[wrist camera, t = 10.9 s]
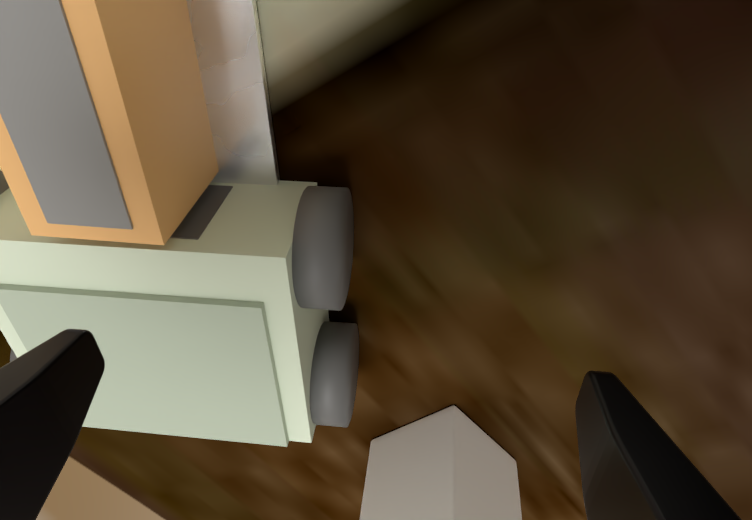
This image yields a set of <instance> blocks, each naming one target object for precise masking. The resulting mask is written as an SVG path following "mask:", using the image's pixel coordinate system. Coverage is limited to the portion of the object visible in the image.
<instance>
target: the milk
mask: <svg viewBox="0 0 752 520" xmlns="http://www.w3.org/2000/svg"><path fill="white" fill-rule="evenodd" d="M360 520H522V515H521V505H520V494H519V484H518V474H517V464H516V461H515V460H514V459H513V458H512V457H511V456H510V455H509V454H508V453H507V452H506V451H505V450H503V449H502V448H501V447H500V446H499V445H498V444H497V443H496V442H495V441H494V440H492V439H491V438H490V437H489V436H488V435H487V434H486V433H485V432H484V431H482V430H481V429H480V428H479V427H478V426H477V425H476V424H475V423H474V422H473V421H471V420H470V419H469V418H468V417H467V416H466V415H465V414H464V413H463V412H461V411H460V410H459V409H458V408H457V407H456V406H454V405H453V406H450V407H448V408H446V409H443V410H441V411H439V412H436V413H434V414H432V415H429V416H427V417H425V418H422V419H420V420H418V421H415V422H413V423H411V424H408V425H406V426H403V427H401V428H399V429H396V430H394V431H392V432H389V433H387V434H385V435H382V436H380V437H378V438H375V439H373V440H372V441H371V445H370V452H369V459H368V466H367V473H366V479H365V486H364V493H363V500H362V507H361V514H360Z"/></svg>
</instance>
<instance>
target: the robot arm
mask: <svg viewBox="0 0 752 520" xmlns="http://www.w3.org/2000/svg"><path fill="white" fill-rule="evenodd" d="M104 368H105V361H104V357H103V355H102V353H101V351H100V349H99V346H98V344H97V342H96V340H95V338H94V336H93V334H92V333H91V332H90V331H88V330H82V329H66V330H64V331H62V332H60V333H58V334H57V335H55V336H53V337H52V338H50V339H48V340H47V341H45V342H43V343H42V344H40V345H38V346H36V347H35V348H33V349H31V350H30V351H28V352H26V353H25V354H23V355H21V356H20V357H18V358H16V359H15V360H13V361H11V362H10V363H8V364H6V365H5V366H3V367H1V368H0V520H36V518H37V516H38V514H39V512H40V510H41V508H42V507H43V505H44V503H45V501H46V499H47V497H48V495H49V493H50V491H51V489H52V487H53V485H54V484H55V482H56V480H57V478H58V476H59V474H60V472H61V470H62V468H63V466H64V465H65V462H66V461H67V459H68V457H69V455H70V453H71V451H72V449H73V447H74V444H75V442H76V440H77V438H78V435H79V433H80V430H81V428H82V425H83V423H84V420H85V418H86V415H87V413H88V410H89V408H90V405H91V403H92V400H93V398H94V395H95V393H96V390H97V388H98V385H99V383H100V380H101V378H102V375H103V372H104ZM576 424H577V434H578V445H579V456H580V467H581V478H582V488H583V497H584V503H585V508H586V514H587V519H588V520H741V519H740V517H739V516H738V515H737V514H736V513H735V512H734V511H733V509H732V508H731V507H730V506H729V505H728V504H727V503H726V501H725V500H724V499H723V498H722V497H721V496H720V495H719V493H718V492H717V491H716V490H715V489H714V488H713V487H712V485H711V484H710V483H709V482H708V481H707V480H706V479H705V477H704V476H703V475H702V474H701V473H700V472H699V471H698V469H697V468H696V467H695V466H694V465H693V464H692V463H691V461H690V460H689V459H688V458H687V457H686V456H685V454H684V453H683V452H682V451H681V450H680V449H679V448H678V446H677V445H676V444H675V443H674V442H673V441H672V440H671V438H670V437H669V436H668V435H667V434H666V433H665V432H664V430H663V429H662V428H661V427H660V426H659V425H658V424H657V422H656V421H655V420H654V419H653V418H652V417H651V416H650V414H649V413H648V412H647V411H646V410H645V409H644V408H643V406H642V405H641V404H640V403H639V402H638V401H637V400H636V398H635V397H634V396H633V395H632V394H631V393H630V392H629V390H628V389H627V388H626V387H625V386H624V385H623V383H622V382H621V381H620V380H619V379H618V378H617V377H616V376H615V375H614V374H613V373H610V372H601V371H589V372H587V373H586V375H585V377H584V380H583V383H582V386H581V389H580V392H579V395H578V398H577V401H576Z"/></svg>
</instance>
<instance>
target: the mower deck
mask: <svg viewBox="0 0 752 520" xmlns="http://www.w3.org/2000/svg"><path fill="white" fill-rule="evenodd" d="M353 244H354V214H353V203H352V197H351V193H350V190H349V188H347V187H327V186H317V182H301V181H280V182H279V183H278V185H258V184H237V183H217V182H211V183H210V184H209V185H208V187H207V188H206V189H205V191H204V192H203V193H202V195H201V196H200V197H199V199H198V200H197V202H196V203H195V204H194V206H193V207H192V208H191V210H190V211H189V212H188V214H187V215H186V216H185V218H184V219H183V220H182V222H181V223H180V225H179V226H178V227H177V229H176V230H175V231H174V233H173V234H172V235H171V237H170V238H169V239H168V241H167V242H166V244H165V245H152V244H139V243H126V242H113V241H99V240H86V239H73V238H60V237H47V236H34V235H31V233H30V231H29V229H28V227H27V224H26V222H25V220H24V218H23V216H22V214H21V211H20V209H19V207H18V205H17V203H16V200H15V198H14V196H13V194H12V192H11V190H10V187H9V185H8V183H7V181H6V179H5V177H4V174H3V172H2V171H0V330H1V331H2V333H3V335H4V336H5V338H6V340H7V341H8V343H9V345H10V346H11V355H10V362H11V361H13V360H15V359H16V358H18V357H20V356H21V355H23V354H25V353H26V352H28V351H30V350H31V349H33V348H35V347H36V346H38V345H40V344H42V343H43V342H45V341H47V340H48V339H50V338H52V337H53V336H55V335H57V334H58V333H60V332H62V331H64V330H66V329H82V330H88V331H90V332H91V333H92V334H93V336H94V338H95V340H96V342H97V344H98V346H99V349H100V351H101V353H102V355H103V357H104V361H105V368H104V372H103V375H102V378H101V380H100V383H99V385H98V388H97V390H96V393H95V395H94V398H93V400H92V403H91V405H90V408H89V410H88V413H87V415H86V418H85V420H84V423H83V425H82V426H83V427H93V428H104V429H114V430H124V431H134V432H144V433H154V434H164V435H174V436H184V437H194V438H205V439H215V440H225V441H235V442H245V443H255V444H265V445H275V446H285V447H287V446H288V442H289V441H297V442H308V443H312V439H313V435H314V431H315V426H316V425H326V426H337V427H348V425H349V423H350V420H351V416H352V412H353V407H354V401H355V395H356V387H357V378H358V365H359V332H358V326H357V324H356V323H343V322H329V312H328V310H337V311H340V310H342V308H343V307H344V304H345V301H346V298H347V294H348V289H349V284H350V277H351V269H352V260H353Z"/></svg>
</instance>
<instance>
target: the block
mask: <svg viewBox="0 0 752 520" xmlns="http://www.w3.org/2000/svg"><path fill="white" fill-rule="evenodd" d="M0 168H1V170H2V172H3V174H4V177H5V179H6V181H7V183H8V185H9V187H10V190H11V192H12V194H13V196H14V198H15V200H16V203H17V205H18V207H19V209H20V211H21V214H22V216H23V218H24V220H25V222H26V224H27V227H28V229H29V231H30V233H31V235H34V236H47V237H60V238H73V239H86V240H99V241H113V242H126V243H139V244H152V245H165V244H166V242H167V241H168V239H169V238H170V237H171V235H172V234H173V233H174V231H175V230H176V229H177V227H178V226H179V225H180V223H181V222H182V220H183V219H184V218H185V216H186V215H187V214H188V212H189V211H190V210H191V208H192V207H193V206H194V204H195V203H196V202H197V200H198V199H199V197H200V196H201V195H202V193H203V192H204V191H205V189H206V188H207V187H208V185H209V184H210V183H211V181H212V180H213V178H214V177H215V176H216V174H217V173H218V172H219V169H218V164H217V159H216V154H215V148H214V143H213V138H212V133H211V127H210V122H209V117H208V112H207V106H206V101H205V96H204V91H203V85H202V80H201V75H200V70H199V64H198V59H197V54H196V48H195V43H194V38H193V33H192V27H191V22H190V17H189V12H188V6H187V1H186V0H0Z"/></svg>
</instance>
